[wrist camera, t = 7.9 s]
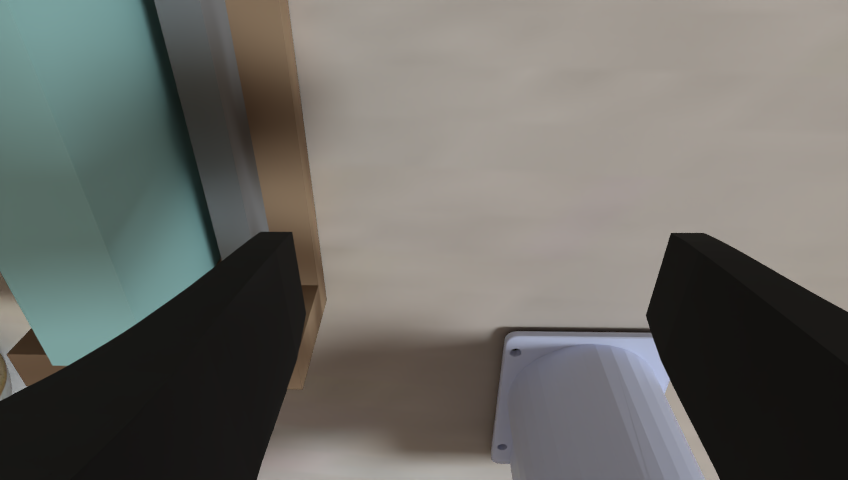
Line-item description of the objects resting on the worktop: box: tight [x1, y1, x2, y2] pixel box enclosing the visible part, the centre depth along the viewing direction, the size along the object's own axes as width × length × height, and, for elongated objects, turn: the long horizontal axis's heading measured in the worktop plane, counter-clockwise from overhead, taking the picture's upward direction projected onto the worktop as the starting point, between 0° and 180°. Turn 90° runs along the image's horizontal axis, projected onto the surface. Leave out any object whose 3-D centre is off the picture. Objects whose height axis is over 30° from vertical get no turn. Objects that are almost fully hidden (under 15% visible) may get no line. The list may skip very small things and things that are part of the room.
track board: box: [7, 0, 327, 389], centre depth 15 cm, size 19×10×5 cm, turn 0°
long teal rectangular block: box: [0, 0, 221, 366], centre depth 14 cm, size 12×3×6 cm, turn 0°
